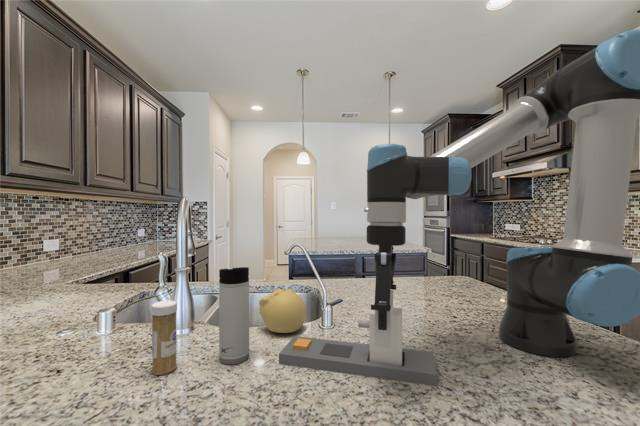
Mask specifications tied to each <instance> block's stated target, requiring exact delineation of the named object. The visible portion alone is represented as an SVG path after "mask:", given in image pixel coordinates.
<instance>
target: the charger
mask: <svg viewBox="0 0 640 426" xmlns="http://www.w3.org/2000/svg"><path fill="white" fill-rule="evenodd" d="M357 323H358V328H362V329H363V328H364V329H369V345H370V362H375V363H383V364H390V365H398V366H402V348H403V308H402V307H393V308H391V347H390V348H385V347H377V346H375V310H371V309H370V311H369V320H365V319H364V320H363V319H358V322H357Z"/></svg>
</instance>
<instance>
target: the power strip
mask: <svg viewBox="0 0 640 426" xmlns="http://www.w3.org/2000/svg"><path fill="white" fill-rule="evenodd" d="M434 357H435V355H434V352H433V351H429V350H428V351H427V350H418V349H410V348H403V347H402V366H398V365H390V364H383V363H375V362H370V344H368V343H367V344H366V343H358V342H348V341H341V340H332V339H323V338H314V337H305V336H299V335H298V336H296V335H294V336H293V337H292V338H291V339H290V340H289V342H287V344H286V345H285V346H284V347H283V348H282V349H281V351H280V352H279V353H278V365H285V366H292V367H298V368H307V369H313V370H319V371H320V370H321V371H327V372H334V373H341V374H347V375H355V376H361V377H368V378H375V379H381V380H389V381H395V382H403V383H411V384H417V385H424V386H425V385H426V386H429V387H430V386H431V387H438V372H437V366H436V361H435V358H434Z"/></svg>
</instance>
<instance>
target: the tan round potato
mask: <svg viewBox="0 0 640 426" xmlns="http://www.w3.org/2000/svg"><path fill="white" fill-rule="evenodd" d="M258 305H259V310H258V311H259V315H260V317H261V319H262V321H263V323H264V325H265V327H266V329H267V330H269V331H270V332H273V333H279V334H289V333H295V332H297V331H298V330H301V328H302V326H303V325H304V324H305V321H306V316H307V309H306V304H305V302H304V300H303V298H302V297H301V296H300V295H299V294H298V293H297V291H295V290H293V289H292V288H291V289H283V288H276V289H274V290H273V291H272V292H271V293H270V294H267V295H266V296H263V297H261V298H260V299H259V301H258Z"/></svg>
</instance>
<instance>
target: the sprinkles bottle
mask: <svg viewBox="0 0 640 426" xmlns="http://www.w3.org/2000/svg"><path fill="white" fill-rule="evenodd" d="M177 303H178V302H177V301H175V300H162V301H157V302H155V303H152V304H151V308H150V314H151V318H152V321H151V323H152V324H151V325H152V326H151V327H152V328H151V356H152V357H151V358H152V369H151V373H152V374H153V375H156V376H157V375H158V376H163V375H168V374H170V373H171V372H173V371H175V370H176V369H177V367H178V364H177V311H178V304H177Z"/></svg>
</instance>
